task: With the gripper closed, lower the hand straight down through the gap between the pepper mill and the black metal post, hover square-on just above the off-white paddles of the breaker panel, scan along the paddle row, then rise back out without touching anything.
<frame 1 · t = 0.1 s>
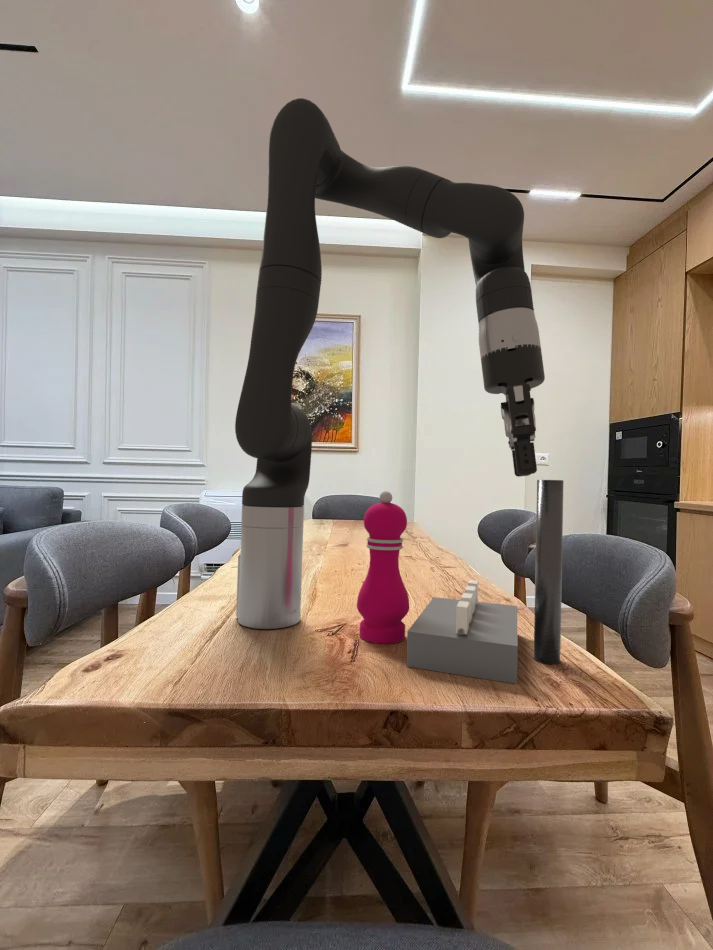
hand: (525, 475, 59), 23 cm above the table, tool pointing down, fingers open, 8 cm apart
breaker panel: (467, 648, 59), on the table
pepper mill: (382, 637, 63), on the table
black cord post: (546, 659, 56), on the table
breaker paddles: (468, 604, 59), point 6 cm above the table, hinge at 0.0°
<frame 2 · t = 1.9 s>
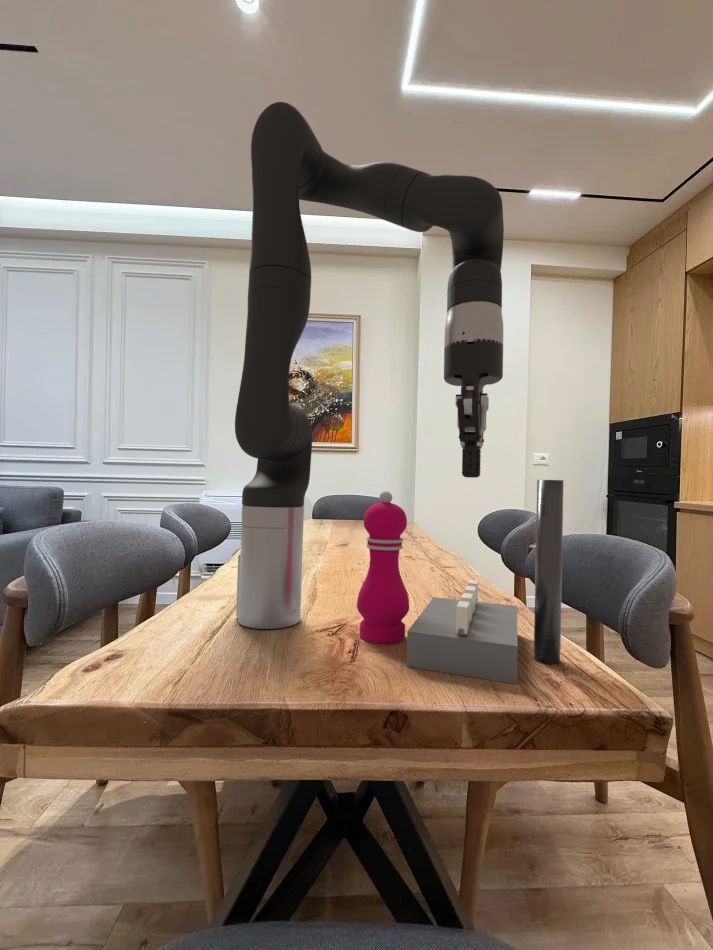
hand: (471, 477, 60), 22 cm above the table, tool pointing down, fingers closed
nothing on the table moved.
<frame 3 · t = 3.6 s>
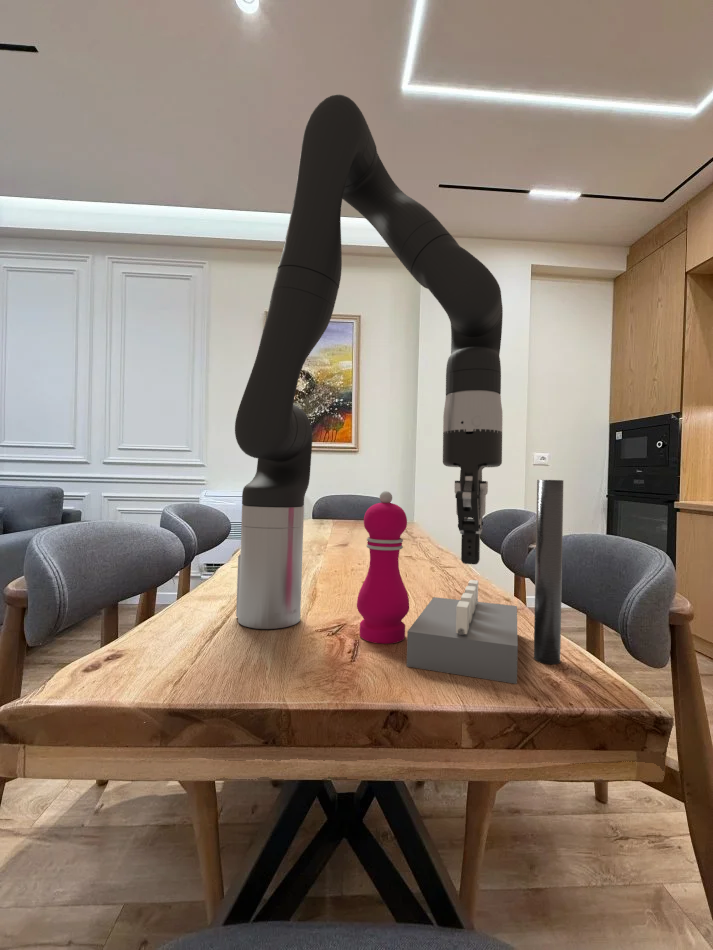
hand: (470, 563, 60), 11 cm above the table, tool pointing down, fingers closed
nothing on the table moved.
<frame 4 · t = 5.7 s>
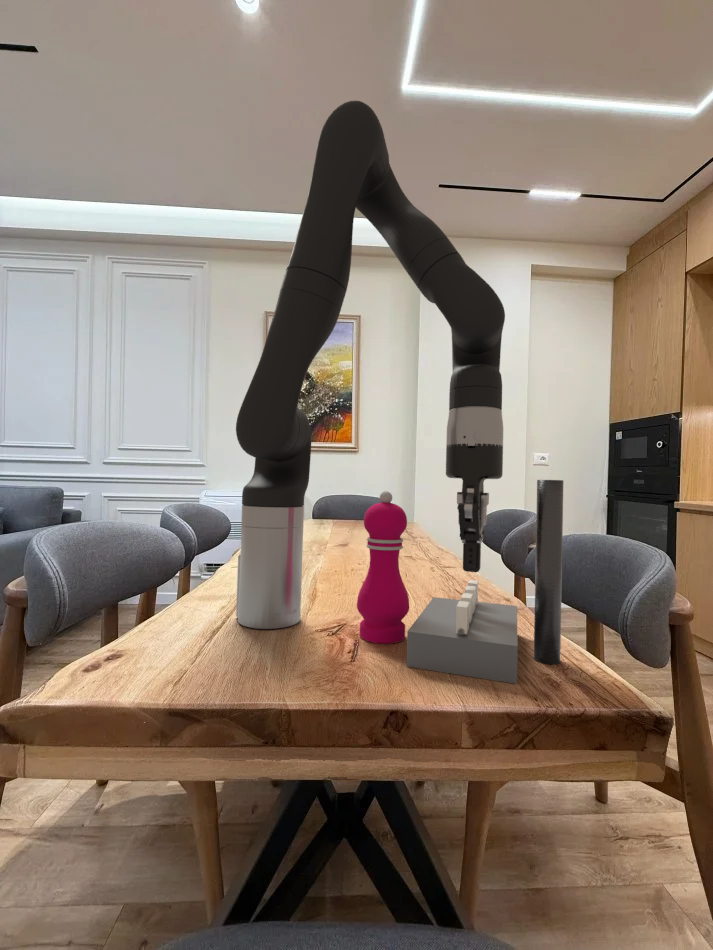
hand: (471, 570, 62), 10 cm above the table, tool pointing down, fingers closed
nothing on the table moved.
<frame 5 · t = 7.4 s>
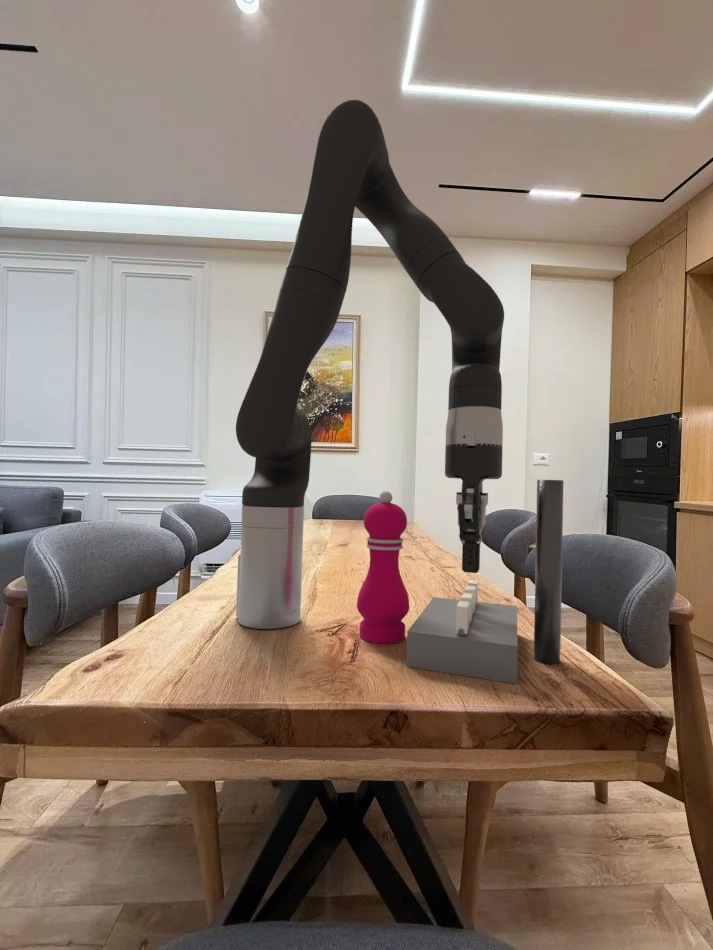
hand: (470, 571, 62), 9 cm above the table, tool pointing down, fingers closed
nothing on the table moved.
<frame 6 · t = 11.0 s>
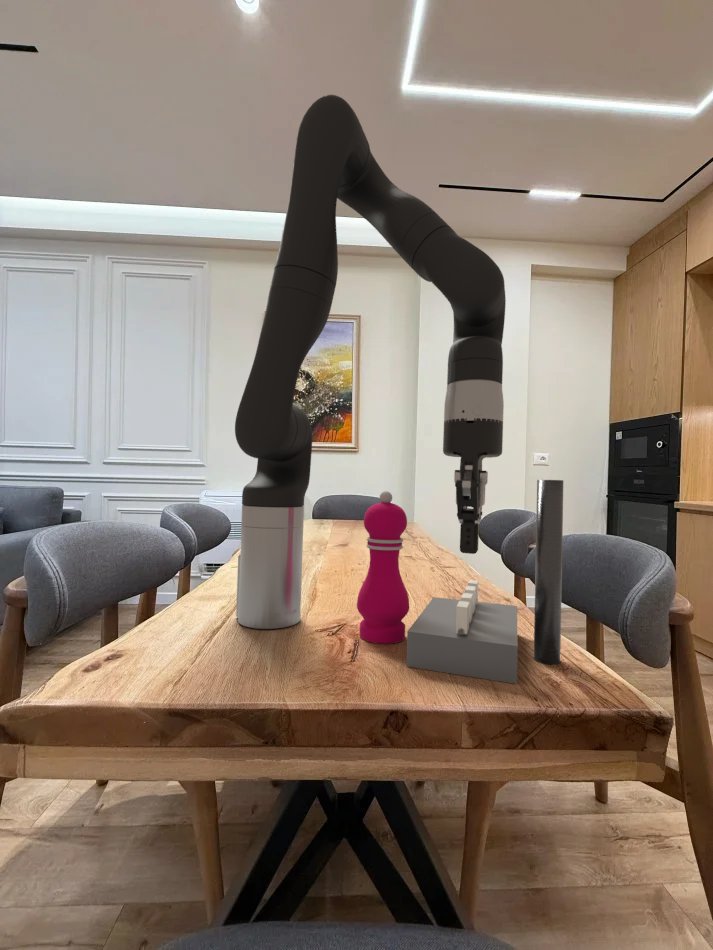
hand: (468, 552, 60), 12 cm above the table, tool pointing down, fingers closed
nothing on the table moved.
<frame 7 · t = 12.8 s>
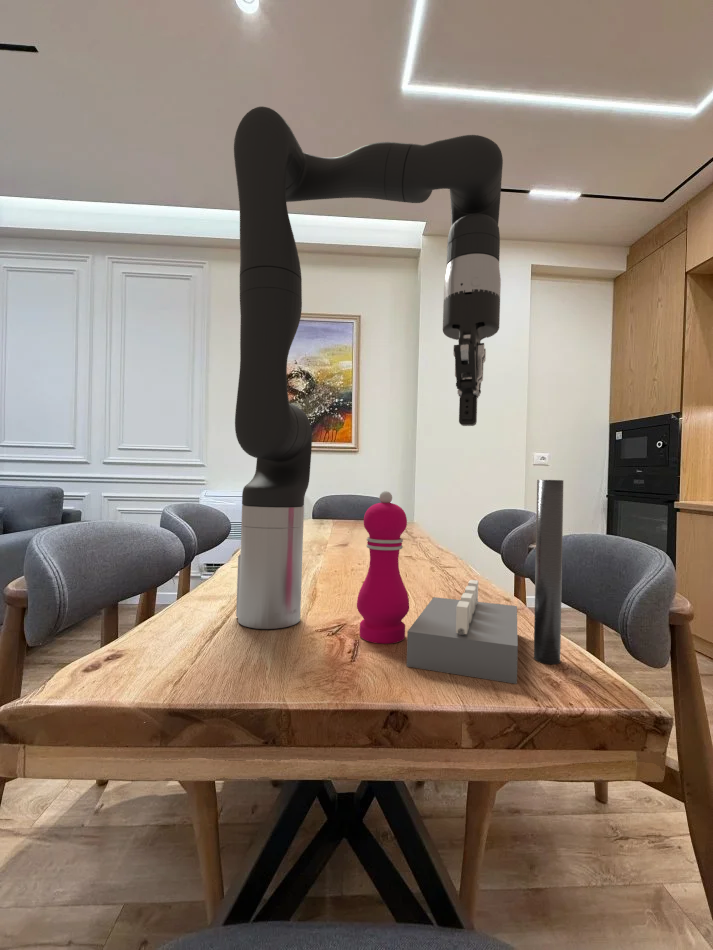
hand: (467, 424, 62), 29 cm above the table, tool pointing down, fingers closed
nothing on the table moved.
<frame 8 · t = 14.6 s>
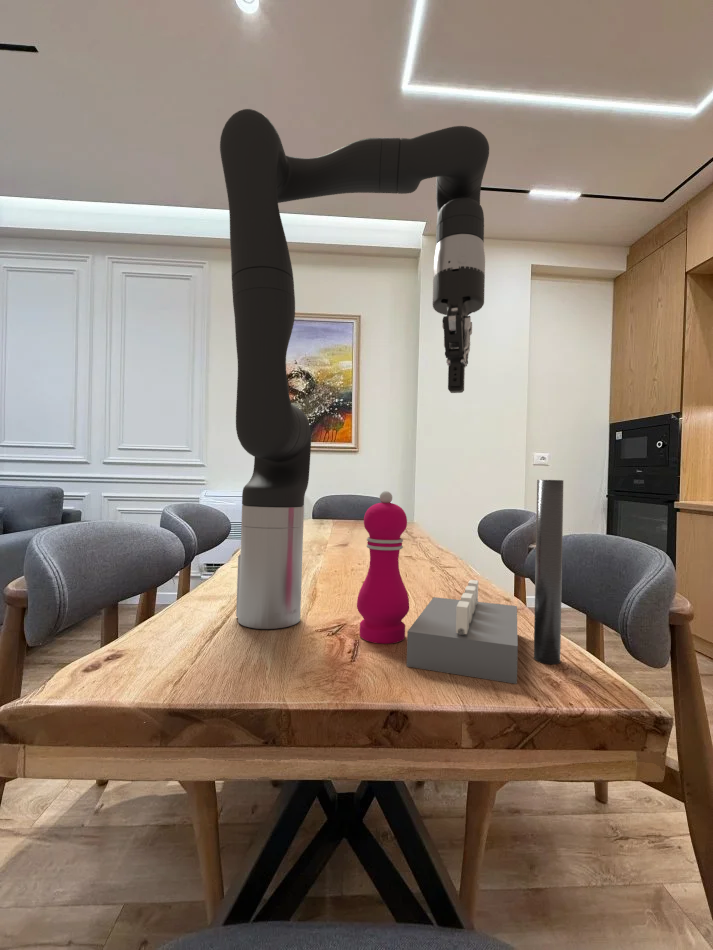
hand: (456, 391, 68), 35 cm above the table, tool pointing down, fingers closed
nothing on the table moved.
at the end: breaker paddles at +0° (first picture: +0°); pepper mill moved 0.2 cm from its start; pepper mill tilted 0° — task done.
